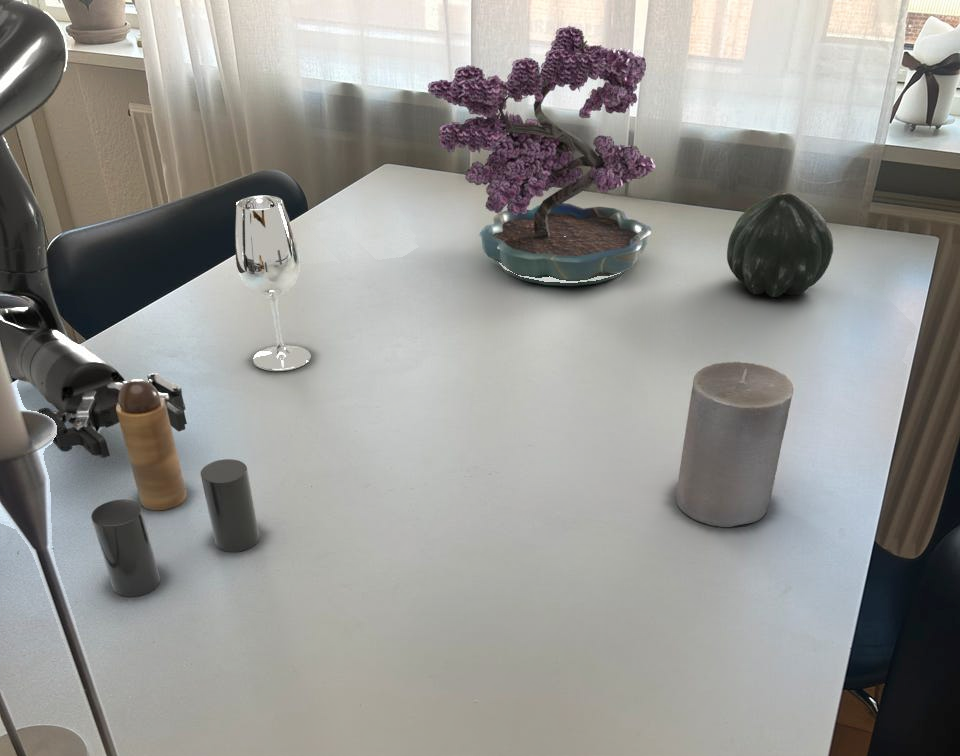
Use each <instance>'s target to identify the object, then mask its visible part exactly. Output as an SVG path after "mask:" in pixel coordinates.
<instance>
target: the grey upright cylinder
mask: <svg viewBox="0 0 960 756" xmlns="http://www.w3.org/2000/svg"><path fill="white" fill-rule="evenodd" d="M200 479H201V484H202V487H203V492H204V498H205V502H206V506H207V511H208V515H209V520H210V524H211V531H212V533H213V538H214V543H215V545H216V547H217V548H218V549H220V550H222V551H224V552H227V553H237V552H238V553H239V552H243V551H248V550H249V549H251V548H253V547H255V546H256V545H257V544H258V542H259V540H260V532H259V525H258V520H257V515H256V510H255V509H256V508H255V504H254V499H253V494H252V489H251V488H252V487H251V481H250V476H249V471H248V467H247V464H245V463H244V462H243V461H241V460H238V459H233V458H232V459H231V458H226V459H225V458H224V459H218V460H214V461H212V462H210V463H207V464H205V465H204V466H203V467H202V468H201V471H200Z"/></svg>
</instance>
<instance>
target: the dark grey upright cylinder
mask: <svg viewBox="0 0 960 756" xmlns="http://www.w3.org/2000/svg"><path fill="white" fill-rule="evenodd" d="M90 519H91V522H92V525H93V528H94V532H95V534H96V538H97V541H98V544H99V547H100V551H101V554H102V558H103V561H104V564H105V567H106V570H107V573H108V577H109V580H110V584H111V587H112V590H113V591H114V592H115V593H116V594H118V595H119V596H122V597H127V598H134V597H139V596H140V597H141V596H144V595H146V594H149V593H150V592H152V591H154V590H155V589H156V588H157V587H159V585H160V582H161V576H160V572H159V568H158V565H157V562H156V557H155V553H154V550H153V546H152V543H151V539H150V535H149V531H148V527H147V524H146V519H145V517H144V513H143V509H142V506H141V504H140V503H138V501H134V500H133V499H132V500H131V499H114V500H110V501H107V502H104V503H102V504H100V505H98V506H97V507H96V508H95V509H94V510H93V511H92V512H91V516H90Z"/></svg>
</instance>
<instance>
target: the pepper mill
mask: <svg viewBox="0 0 960 756" xmlns="http://www.w3.org/2000/svg"><path fill="white" fill-rule="evenodd" d="M126 382H127V383H125V384H124V385H123V386H122V388H121V389H120V391H119V395H118V402H119V403H118V404H117V406H116V411H117V415H118V419H119V426H120V429H121V434H122V437H123V440H124V444H125V448H126V452H127V456H128V459H129V463H130V467H131V470H132V474H133V479H134V482H135V486H136V489H137V492H138V497H139V501H140V505H142V506H143V508H145V509H147V510H151V511H166V510H171V509H174V508H177V507H178V506H180V505H182V504H183V503H184V502H185V501H186V499H187V496H188V493H187V489H186V485H185V480H184V476H183V472H182V467H181V464H180V460H179V455H178V451H177V445H176V442H175V438H174V433H173V429H172V426H171V424H170V420H169V416H168V411H167V407H166V403H165V400H164V399H163V398H162V397H160V396H159V393H158V391H157V389H156V388H155V387H154V386H153V385H152V384H151V383H149V382H148V381H147V380H144V379H139V378H137V379H131V380H128V381H126Z"/></svg>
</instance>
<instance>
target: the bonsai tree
mask: <svg viewBox="0 0 960 756" xmlns="http://www.w3.org/2000/svg"><path fill="white" fill-rule="evenodd" d="M554 34H555V38H554V40H552V41H551V43H550V46H551V47H550V50H547V52H545V55H544V56H545V58H544V60H545V61H544V62H542V63H541V65H539V62H538V61H536V60H535V59H533V58H531V57H524V58H519V59H516V60H514V61H513V62H512V63H511V66H512V68H511V72H510V73H509V74H508V75H507V78H506V79H507V81H504V80H501V78H500V76H498V75H497V74H496V75H492V76H488V77H486V74H484V72H483V71H484V70H483V69H481V68H479V67H476V66H475V65H469V64H467V65H466V66H461V67H460V66H459V67H458V68H455V70H454V74H455V75H454V78H453V80H452V81H448V79H439V80H435V81H431V82H429V83H428V84H427V88H428V89H427V92H428V93H429V94H430V95H431V96H435V98H436V99H438V100H441V99H442V100H444V101H447V103H448V104H452V105H453V106H457V105H458V107H464V108H466V109H467V110H468V113H469V114H470V115H477V116H475V117H470V118H467V119H465V121H464V123H461V124H460V122H458V121H456V122H455V121H451V122H450V123H449V122H447V123H443V124H441V125H440V126H439V128H438V130H439V133H438V139H439V145H440V147H441V148H442V149H444V150H446V151H447V152H448V153H454V152H455V149H456V147H458V148H461V149H465V148H466V146H467V147H468V149H469V151H470V152H471V153H475V152H476V151H477V152H478V153H479V154H481V149H482V150H484V151H489V152H491V153H490V154H488V158H486V162H485V164H484V165H483V163H482V162H481V161H475V162H472V163H471V166H470V167H469V168H468V169H467V171H466V172H465V180H466V181H467V182H468V183H469V184H475V185H476V186H481V185H482V184H483V185H484V186H485V185H487V184H488V183H489V184H488V185H487V186H486V187H485V190H486V191H485V193H486V194H487V195H488V197H487V200H486V201H485V210H488V211H489V212H494V214H495V215H494V216H493V217H492V221H493V223H491V224H487V225H485V226H484V227H483V228H482V230H480V231H479V233H478V236H479V237H480V238H481V246H482V249H483V253H484V254H485V255H486V256H487V257H489V258H490V259H492V260H494V261H495V262H496V261H498V262H500V263H502V265H503V266H505V267H506V268H507V269H509V270H510V271H512V272H513V273H512V272H510V271H507V270H505V269H504V268H503V267H502V266H501V265H500V264H499V263H498V262H497V264H498V265H499V266H500V268H501V269H502V270H503V272H504V273H505V274H508V275H510V276H512V277H515V278H517V279H519V280H521V281H525V282H529V283H534V284H539V285H544V286H561V287H578V286H584V285H585V286H586V285H595V284H600V283H603V282H607V281H610V280H614V279H617V278H619V277H620V276H621V275H622V274H624V273H625V272H627V271H628V270H631V269H632V268H633V267H634V266H635V264H636V263H637V260H638V257H639V255H640V254H641V253H643V252H645V249H646V246H647V244H648V237H649V236H650V235H651V234H652V228H651V227H650V225H647V224H645V223H643V222H641V221H639V220H637V219H631V218H630V219H629V218H628V217H627V215H626V213H625V212H624V211H623V210H621V209H619V208H616V207H608V206H607V207H606V206H592V207H584V208H583V207H581V206H578V205H575V204H572V203H570V202H569V203H567V201H569V200H570V199H572V198H573V197H575V196H577V195H578V194H580V193H582V192H583V191H585V190H587V189H588V188H590V187H591V186H592V185H593V184H594V185H596V187H595V189H598V190H599V191H600V193H601V194H607V193H608V192H609V191H613V190H615V189H616V188H620V187H621V188H624V184H627V183H631V181H633V180H638V179H639V180H640V179H642V178H644V177H646V176H648V174H649V173H653V171H654V169H656V168H657V166H656V163H655V162H654V159H653V158H652V157H651V156H646V155H645V154H641V151H640V150H639V148H638V147H637V145H632V144H629V145H627V146H626V144H625V145H622V144H619V145H616V144H615V141H614V140H613V138H612V136H611V135H608V136H607V135H597V137H595V138H593V146H594V147H595V148H594V149H593V148H592V147H591V146H590V145H589V144H587V143H586V142H585V141H584V140H582V139H581V138H579V137H577V136H576V135H575V134H573V133H571V132H570V131H567V129H565V128H563V127H561V126H560V125H558V124H557V123H555V122H554V121H552V120H551V119H550V118H548V117H547V116H546V114H545V113H544V111H543V110H542V104H543V102H544V100H545V98H546V97H547V95H548V94H549V93H550V92H552V91H555V90H556V86H558V87H560V88H564V87H565V86H568V88H569V89H570V91H572V92H574V91H576V90H578V92H579V93H580V92H581V88H582V87H584V86H585V83H587V82H588V79H589V78H590V80H593V81H594V80H595V81H597V80H598V79H599V80H603V81H604V84H603V85H602V86H598V87H596V88H592V89H591V91H589V93H588V95H589V98H586V99H585V102H584V104H583V107H581V108H580V109H579V112H578V116H579V117H580V118H581V119H590V118H591V115H592V112H600V111H601V110H602V108H603V105H604V108H605V112H606V113H607V114H610V115H612V114H613V113H614V112H615V113H617V114H618V113H619V114H625V113H626V112H627V109H628V110H630V106H631V107H634V104H636V103H637V102H638V96H637V93H636V90H637V89H638V84H639V83H640V82H642V80H643V78H644V76H645V72H646V70H647V62H646V58H645V57H642V56H640V55H636V53H635V52H631V48H628V49H627V48H624V49H623V47H622V46H621V47H619V48H618V49H617V48H616V49H615V48H614V47H612V48H611V49H609V48H608V47H605V46H602V44H599V45H590V46H589V44H587V43H588V40H584V39H585V36H584V32H583V30H581V29H580V28H577V27H576V26H570V25H568V26H566V27H561V28H560V27H559V28H557V30H556V31H555V33H554ZM528 96H529V97H532V96H534V103H533V112H534V117H535V118H536V119H532V118H526V120H525V122H524V120H523V119H522V117H521V115H520V114H518V113H517V114H516V115H514V112H512V113H509V111H508V110H506V109H507V100H508V99H509V98H510V99H513V102H514V103H515V102H516V103H521V102H522V100H523V99H526V98H527V97H528ZM503 110H506V112H505V113H504V111H503ZM481 115H482V116H481ZM575 151H576V152H578V153H579V154H581V155H582V156H580V157H576V158H574V154H575ZM581 167H590V169H589V170H588V171H587V172H586V173H585V174H584V172H583V169H582V168H581ZM567 182H568V184H567V185H565V184H566V183H567ZM555 185H557V187H561V188H560V189H558V190H557V191H555V192H554V193H552V194H551V195H549V196H548V197H546V198H545V199H543V200H542V202H541V203H540V204H539V205H536V206H535V207H533V208H531V209H527V208H528V207H529V206H530V204H531V200H532V199H533V198H534V197H537V198H541V197H542V198H543V196H544V192H548V191H549V190H550V189H552V188H553V187H554V186H555ZM564 185H565V186H564ZM563 186H564V187H563ZM543 191H544V192H543ZM505 207H506V210H504V208H505ZM564 236H566V237H564ZM620 272H621V273H620ZM514 273H515V274H514ZM617 273H620V274H617ZM516 274H517V275H516ZM614 274H617V275H614ZM518 275H521V276H529V277H535V278H542V277H549V276H550V277H553V278H556V279H559V280H566V281H580V280H588V279H591V278H594V277H597V276H610V275H614V276H611V277H608V278H604V279H601V280H596V281H587V282H578V283H560V282H544V281H539V280H534V279H529V278H524V277H520V276H518Z"/></svg>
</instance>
